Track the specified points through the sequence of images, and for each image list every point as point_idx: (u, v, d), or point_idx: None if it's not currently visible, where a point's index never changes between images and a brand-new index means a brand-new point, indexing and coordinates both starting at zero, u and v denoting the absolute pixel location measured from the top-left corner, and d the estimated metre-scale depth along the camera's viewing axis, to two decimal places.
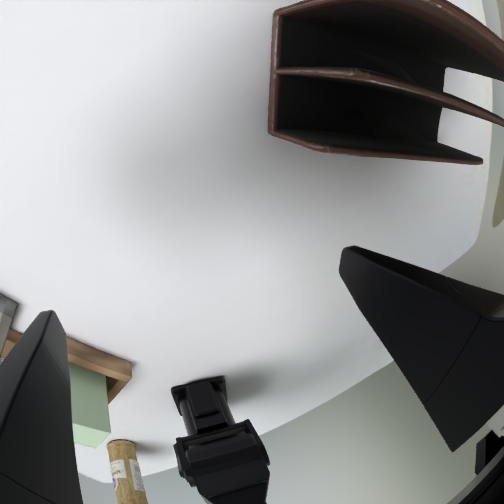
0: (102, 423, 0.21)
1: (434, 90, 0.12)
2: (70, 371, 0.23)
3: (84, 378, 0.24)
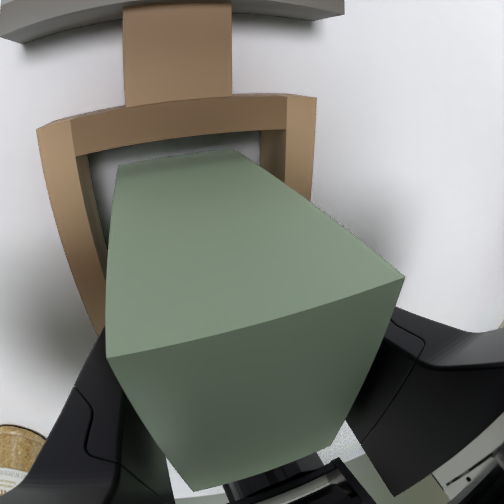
0: None
1: None
2: None
3: None
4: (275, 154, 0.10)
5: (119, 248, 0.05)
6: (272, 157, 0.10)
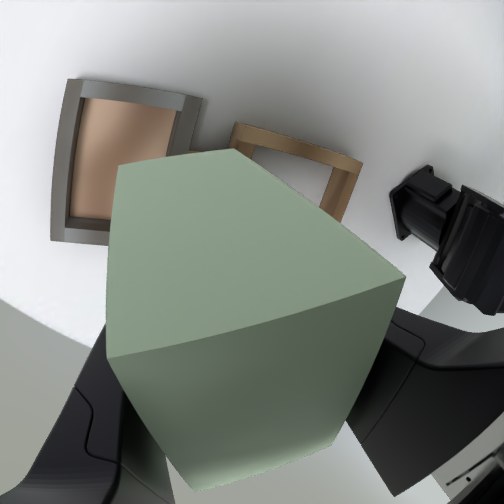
0: None
1: None
2: None
3: None
4: None
5: (119, 248, 0.05)
6: None
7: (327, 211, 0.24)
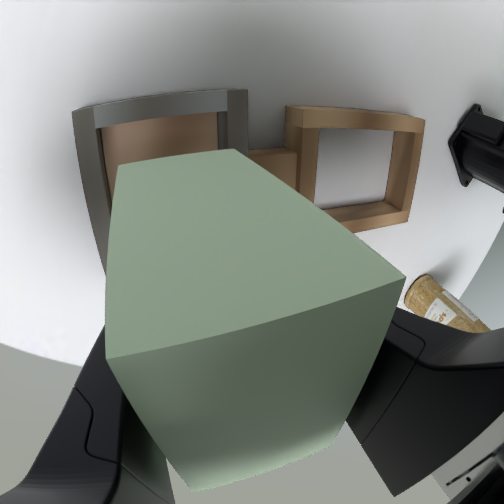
0: None
1: None
2: None
3: None
4: None
5: (119, 248, 0.05)
6: None
7: (399, 178, 0.20)
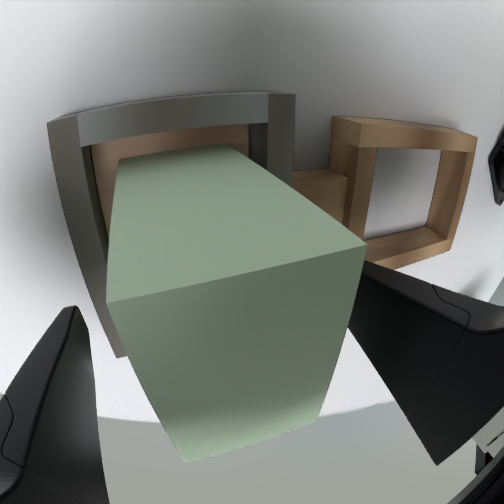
0: None
1: None
2: None
3: None
4: None
5: (120, 224, 0.05)
6: None
7: (446, 202, 0.17)
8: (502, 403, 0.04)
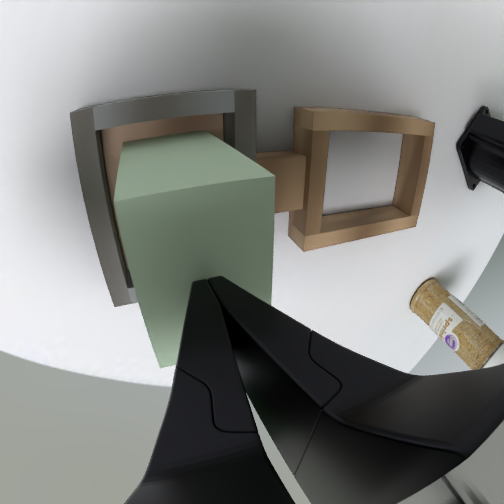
0: None
1: None
2: None
3: None
4: None
5: (123, 173, 0.08)
6: None
7: (408, 182, 0.20)
8: None
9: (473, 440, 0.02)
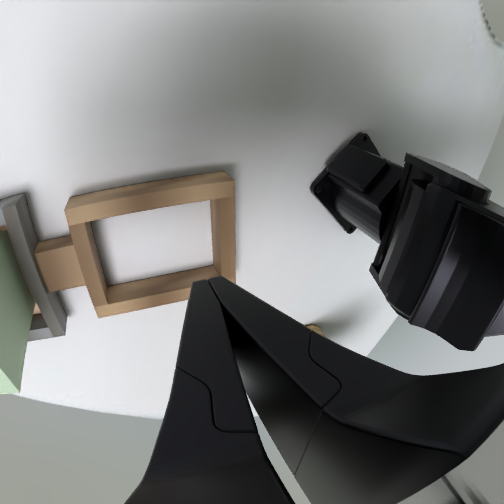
0: (14, 372, 0.12)
1: None
2: (7, 277, 0.14)
3: (15, 298, 0.15)
4: None
5: None
6: None
7: (216, 246, 0.21)
8: None
9: (473, 440, 0.02)
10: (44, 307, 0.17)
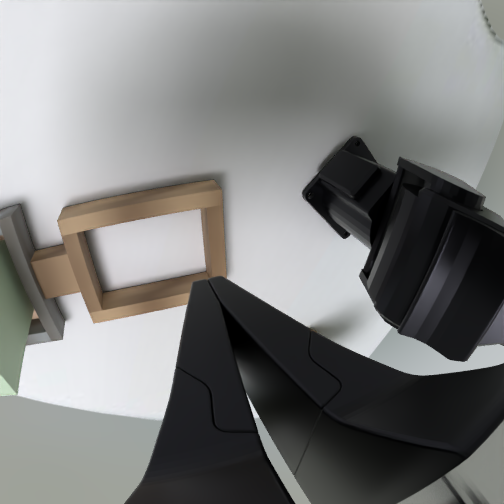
0: (12, 375, 0.12)
1: None
2: (5, 285, 0.15)
3: (14, 305, 0.15)
4: None
5: None
6: None
7: (207, 253, 0.21)
8: None
9: (473, 440, 0.02)
10: (42, 313, 0.17)
